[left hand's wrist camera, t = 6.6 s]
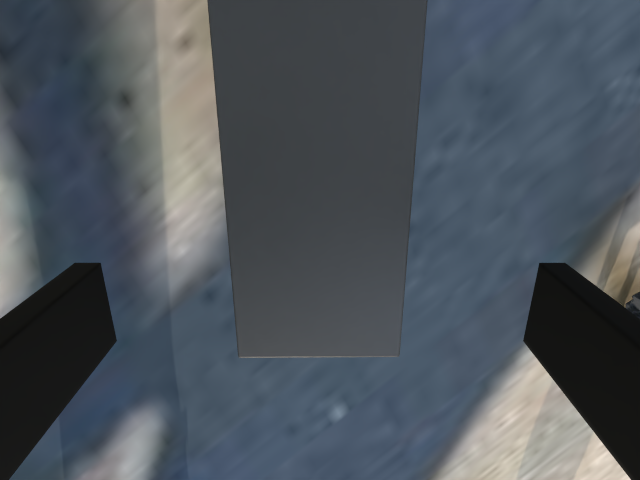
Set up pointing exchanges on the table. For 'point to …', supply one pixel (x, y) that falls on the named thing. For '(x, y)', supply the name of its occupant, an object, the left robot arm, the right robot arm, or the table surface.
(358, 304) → the box
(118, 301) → the table surface
